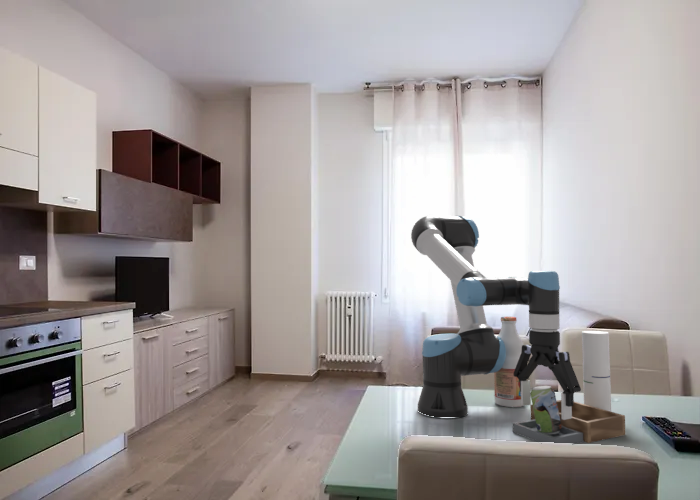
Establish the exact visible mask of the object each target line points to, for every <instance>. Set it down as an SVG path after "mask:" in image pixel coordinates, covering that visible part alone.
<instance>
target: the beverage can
mask: <svg viewBox="0 0 700 500" xmlns="http://www.w3.org/2000/svg"><path fill="white" fill-rule="evenodd" d="M530 395H531V405H533V410H534V415H535V420H536V425H537V430H538V431H539V432H542V433H545V434H547V435H550V434H556V433H559V431H560V430H561V429H562V426H561V421H560V416H559V411H558V406H557V396H556V392H555V390H554V389H553V388H552V386H551V385H538V386H533V387H531V390H530Z"/></svg>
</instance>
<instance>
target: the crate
mask: <svg viewBox="0 0 700 500" xmlns="http://www.w3.org/2000/svg"><path fill="white" fill-rule="evenodd" d="M556 401H557V406H558V411H559V416H560V421H561V426H564V427H567V428H570V429H573V430H576V431H579V432H582V433H583V443H587V444H591V443H594V442H599V441H604V440H608V439H612V438H617V437H621V436H622V437H623V436H626V416H625V415H624V414H620V413H617V412H614V411H611V412H610V411H607V410H603V409H600V408H596V407H592V406H589V405H585V404H584V403H580V402H579V401H578V402H577V401H574V405H573V406H572V418H571V419H566V420H563V419H562V415H561V399H558V400H557V399H556ZM529 406H530V420H533V419H535V415H534V410H533V405H532V404H531V405H529Z"/></svg>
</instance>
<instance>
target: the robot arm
mask: <svg viewBox="0 0 700 500" xmlns="http://www.w3.org/2000/svg"><path fill="white" fill-rule="evenodd" d="M410 234H411V235H410V236H411V238H410V239H411V242H412V245H413V247H414V248H415V249H416V250H417V251H418V252H419V253H420V254H421V255H423V256H427V257H428V258H429V259H430V261H431V262H433V263H434V265H435V266H436V267H437V268H438V269H439V270H440V271H441V272H442V273H443V275H445V276H446V277H447V279H449V280H450V283H451V284H450V285H451V288H452V293H453V294H452V295H453V298H454V303H455V309H456V314H457V318H458V324H459V331H457V333H453V332H452V333H451V332H450V333H439V334H434V335H429V336H427V337H426V338H424V340H423V342H422V350H421V355H422V388H421V392H420V395H419V399H418V401H417V412H418V411H419V412H421V413H423V414H426V415H429V416H434V417H460V418H462V417H461V416H463V417H465V415H466V416H467V415H468V414H467V413H469V411H468V409H469V407H468V403H467V400H466V397H465V394H464V390H463V388H462V377H465V376H475V375H477V376H478V375H488V374H489V375H490V374H494V373H495V372H497V371H499V370H500V369H501V368H502V366H503V364H504V362H505V358H506V348H505V344H504V342H503V340H501V338H500V337H499V336H498V335H496V334H495V331H494V328H493V327H492V326H490V325H489V324H488V323H487V318H486V314H485V310H484V306H508V305H521V306H528V327H529V329H530V330H528V335H529V337H528V338H529V339H528V340H529V341H528V342H529V344H524V345H522V351H521V355H520V358H519V360H518V363H517V365H516V368H515V371H514V373H513V375H514V376H515V377H517V378H518V379H519V381H520V392H521V405H522V406H521V407H524V406H530V405H532V400H531V394H530V393H531V380H530V377H531V376H532V374H533V372H534V371H535V370H536V368H537V367H538V366H543V367H547V368H548V370H550V371H552V374H553V375H554V377H555V379H556V380H557V382H558V384H559V385H560V387H561V389H562V390H563V391H562V392H560V397H561V398H560V400H561V415H562V419H563V420H566V419H571V418H572V406H573V405H574V402H575V399H574V395H575V393H578V392H582V388H581V385H580V383H579V380H578V378H577V374H576V372H575V370H574V367H573V365H572V362H571V359H570V357H571V356H570V352H569V351H559V346H560V345H561V332H560V331H559V330H560V328H561V327H560V289H561V286H560V280H559V278H560V277H559V274H558V272H556V271H553V270H551V271H550V270H547V271H546V270H532V271H529V272H528V277H517V276H509V277H486V276H485V275H483V274H482V273H481V272H480V271H479V270H478V269H476V267H475V265H474V259H473V255H474V253H475V252H476V249H475V248H476V247H478V244H479V238H480V234H479V229H478V226H477V224H476V223H475V221H474V220H473V219H471V218H470V217H467V216H461V215H455V216H454V215H433V214H429V215H426V216H423V217H421V218H419V219H418V220H417V221H416V222H415V224H414V225H413V226H412V229H411V233H410ZM531 355H532V356H531ZM419 412H418V413H419Z"/></svg>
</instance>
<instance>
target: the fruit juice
mask: <svg viewBox="0 0 700 500" xmlns="http://www.w3.org/2000/svg"><path fill="white" fill-rule="evenodd" d="M500 323H501V327H500V328H501V329H500V331H499V333H498V335H497V336H499V337H500V338H501V340H503V342H504V344H505V348H506V358H505V362H504V364H503V366H502V368H501V369H500V370H499V371H497V372H495V373H493V374H494V375H493V376H494V379H493V381H494V386H493V388H494V391H493V392H494V403H495V405H498V406H501V407H507V408H521V407H523V406H522V405H521V392H520V381H519V379H518V378H517V377H515V376H514V375H513V373H514V371H515V368H516V365H517V363H518V360H519V358H520V355H521V351H522V345H525V343H524V341H523V339H522V337H520V334H518V330H517V325H516V323H517V317H515V316H501V317H500Z"/></svg>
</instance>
